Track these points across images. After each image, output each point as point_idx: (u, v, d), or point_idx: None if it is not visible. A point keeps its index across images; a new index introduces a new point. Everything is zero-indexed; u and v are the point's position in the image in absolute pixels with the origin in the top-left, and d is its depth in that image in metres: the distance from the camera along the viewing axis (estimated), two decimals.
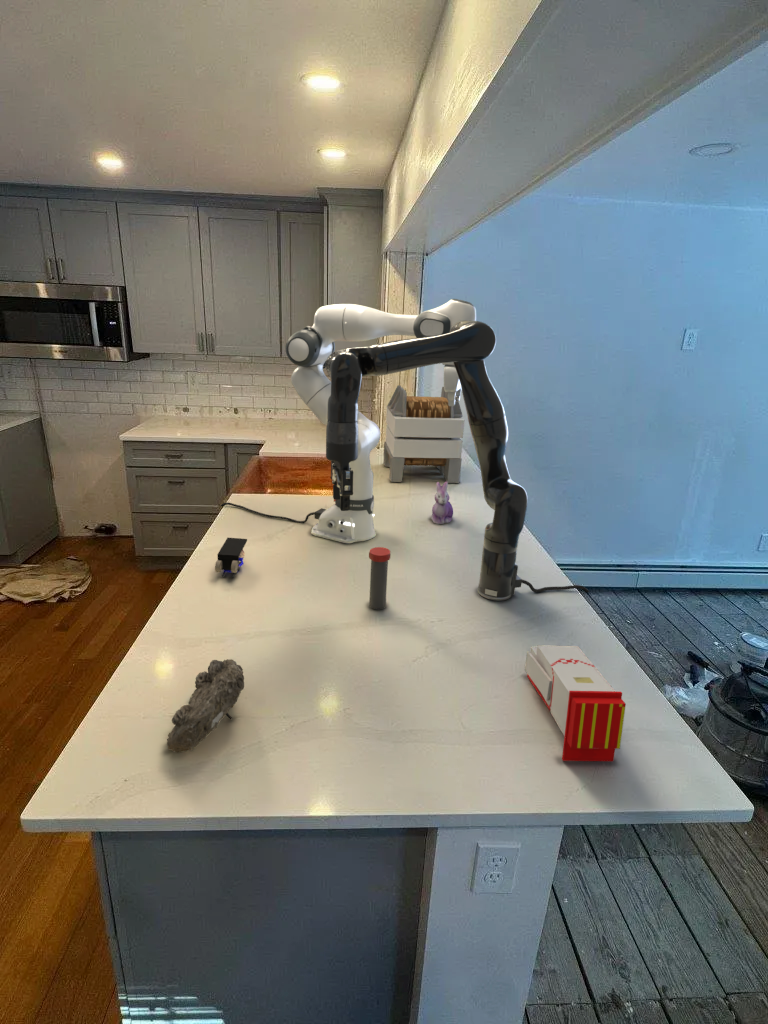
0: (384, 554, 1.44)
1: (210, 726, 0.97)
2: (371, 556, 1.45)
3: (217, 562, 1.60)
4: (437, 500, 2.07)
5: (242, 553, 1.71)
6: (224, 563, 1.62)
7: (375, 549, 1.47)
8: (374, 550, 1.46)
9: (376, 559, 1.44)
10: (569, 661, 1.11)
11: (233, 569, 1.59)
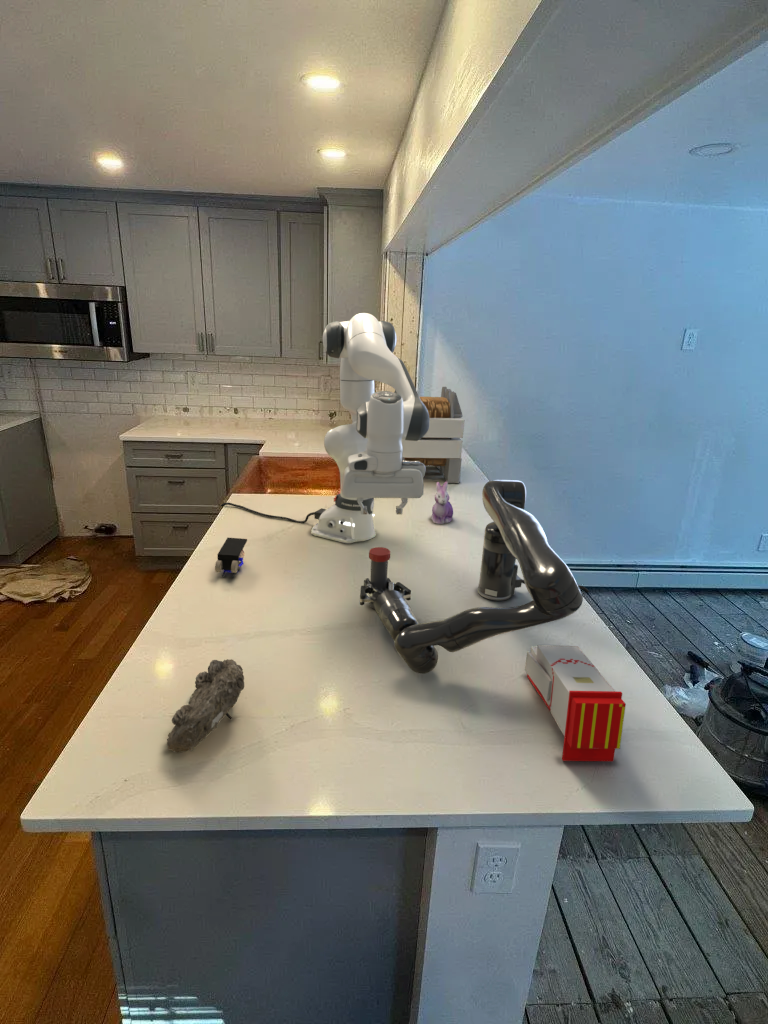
0: (384, 554, 1.44)
1: (210, 726, 0.97)
2: (371, 556, 1.45)
3: (217, 562, 1.60)
4: (437, 500, 2.07)
5: (242, 553, 1.71)
6: (224, 563, 1.62)
7: (375, 549, 1.47)
8: (374, 550, 1.46)
9: (376, 559, 1.44)
10: (569, 661, 1.11)
11: (233, 569, 1.59)
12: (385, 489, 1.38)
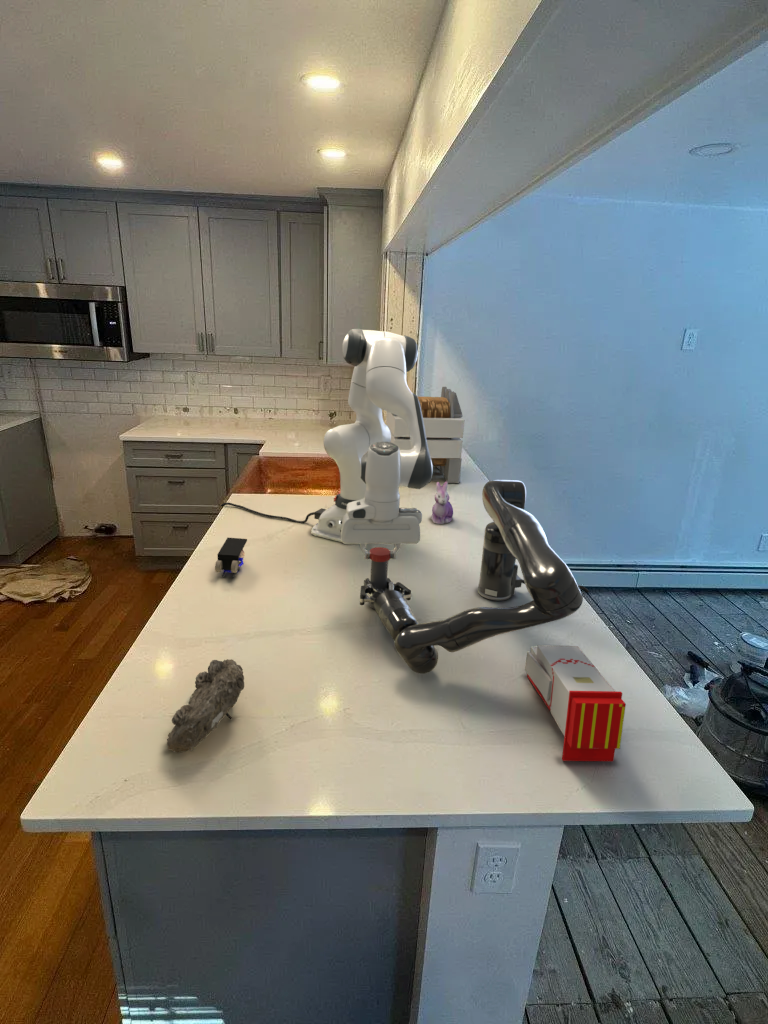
0: (384, 554, 1.44)
1: (210, 726, 0.97)
2: (371, 556, 1.45)
3: (217, 562, 1.60)
4: (437, 500, 2.07)
5: (242, 553, 1.71)
6: (224, 563, 1.62)
7: (375, 549, 1.47)
8: (374, 550, 1.46)
9: (376, 559, 1.44)
10: (569, 661, 1.11)
11: (233, 569, 1.59)
12: (383, 535, 1.43)
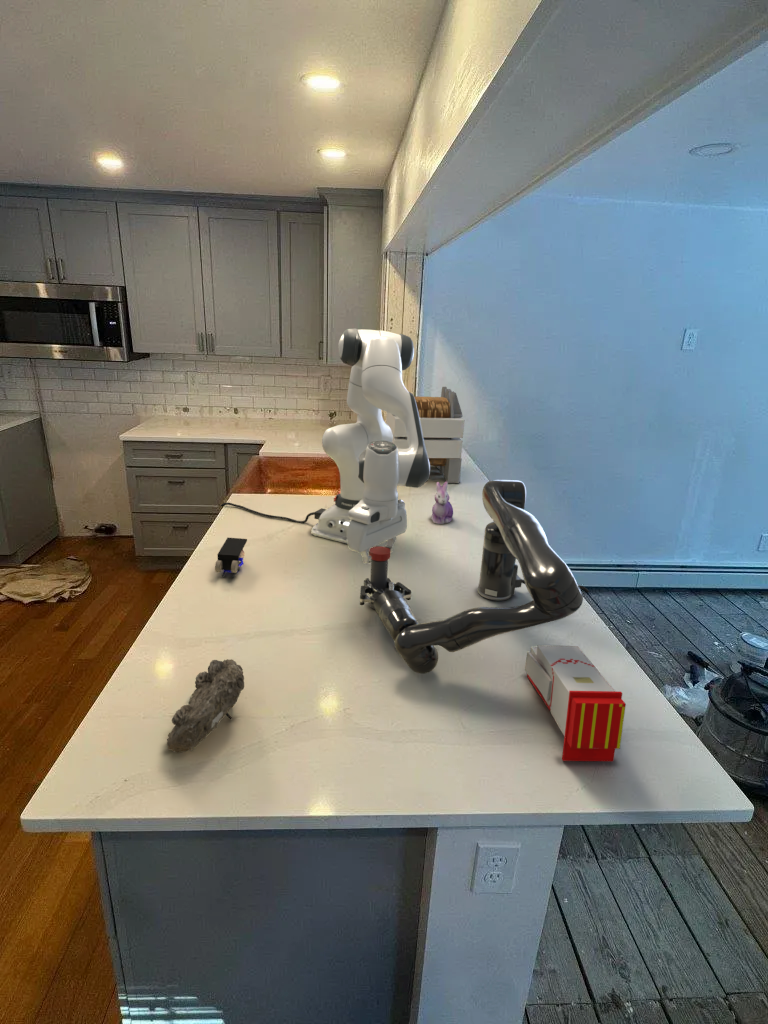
0: (388, 549, 1.46)
1: (210, 726, 0.97)
2: (383, 557, 1.44)
3: (217, 562, 1.60)
4: (437, 500, 2.07)
5: (242, 553, 1.71)
6: (224, 563, 1.62)
7: (375, 551, 1.45)
8: (377, 552, 1.45)
9: (387, 557, 1.45)
10: (569, 661, 1.11)
11: (233, 569, 1.59)
12: (385, 533, 1.43)
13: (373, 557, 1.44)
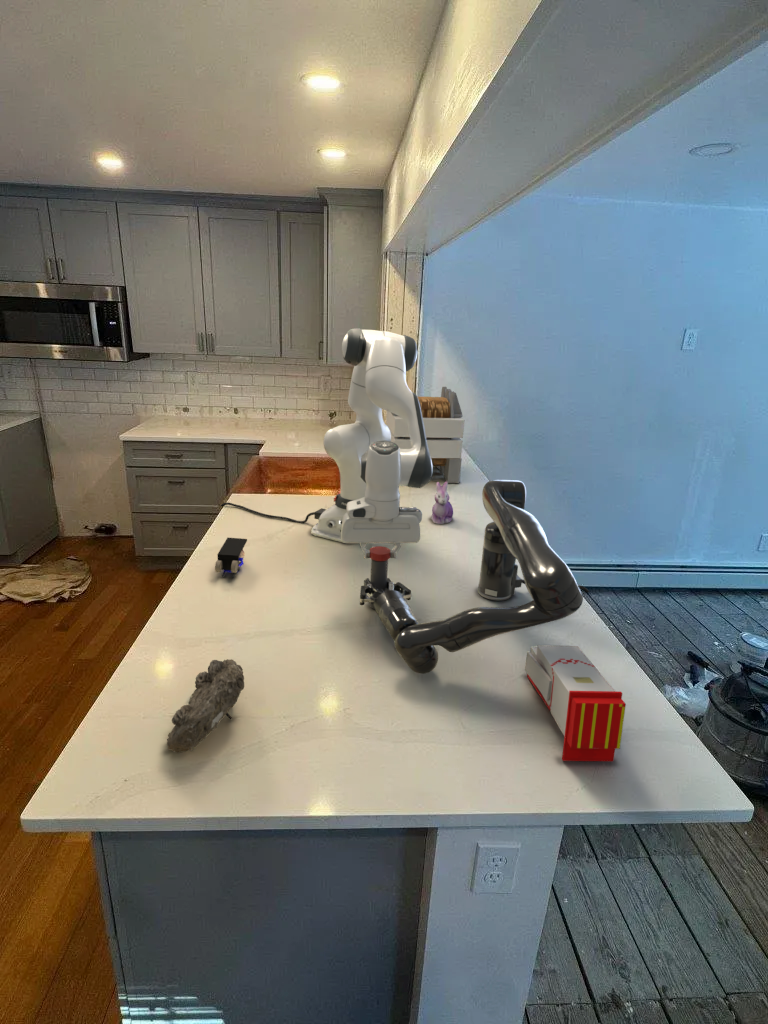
0: (388, 549, 1.46)
1: (210, 726, 0.97)
2: (383, 557, 1.44)
3: (217, 562, 1.60)
4: (437, 500, 2.07)
5: (242, 553, 1.71)
6: (224, 563, 1.62)
7: (375, 551, 1.45)
8: (377, 552, 1.45)
9: (387, 557, 1.45)
10: (569, 661, 1.11)
11: (233, 569, 1.59)
12: (383, 534, 1.42)
13: (373, 557, 1.44)
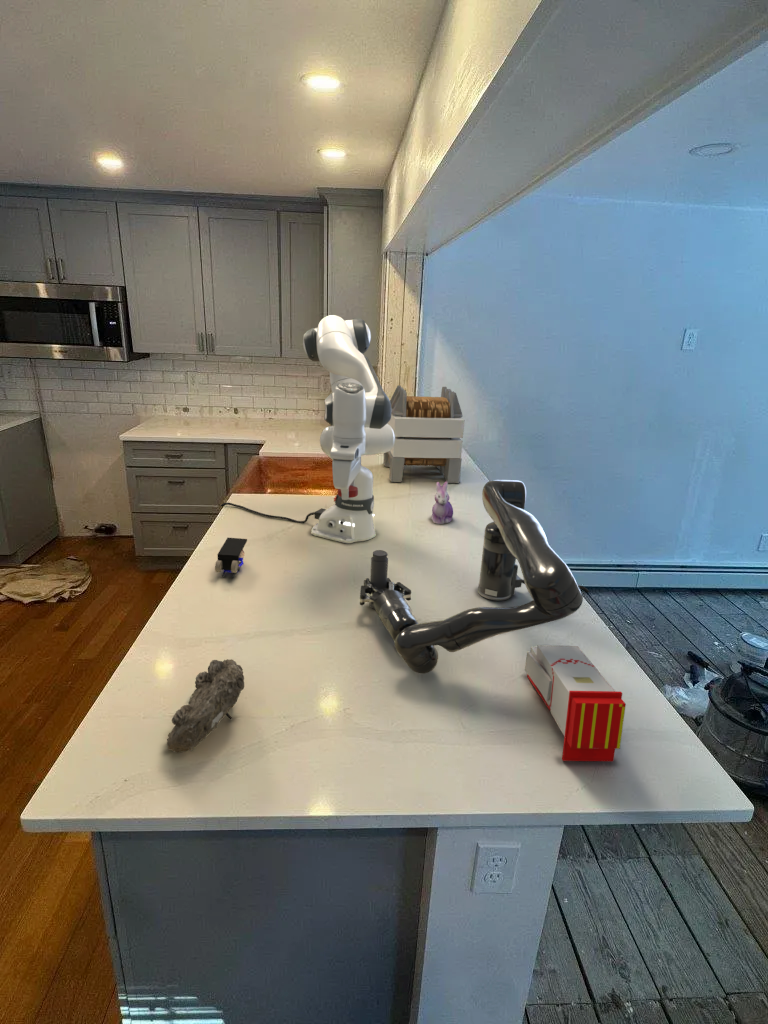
0: None
1: (210, 726, 0.97)
2: (357, 491, 1.55)
3: (217, 562, 1.60)
4: (437, 500, 2.07)
5: (242, 553, 1.71)
6: (224, 563, 1.62)
7: (349, 489, 1.53)
8: (351, 489, 1.54)
9: None
10: (569, 661, 1.11)
11: (233, 569, 1.59)
12: (355, 470, 1.53)
13: (353, 494, 1.53)
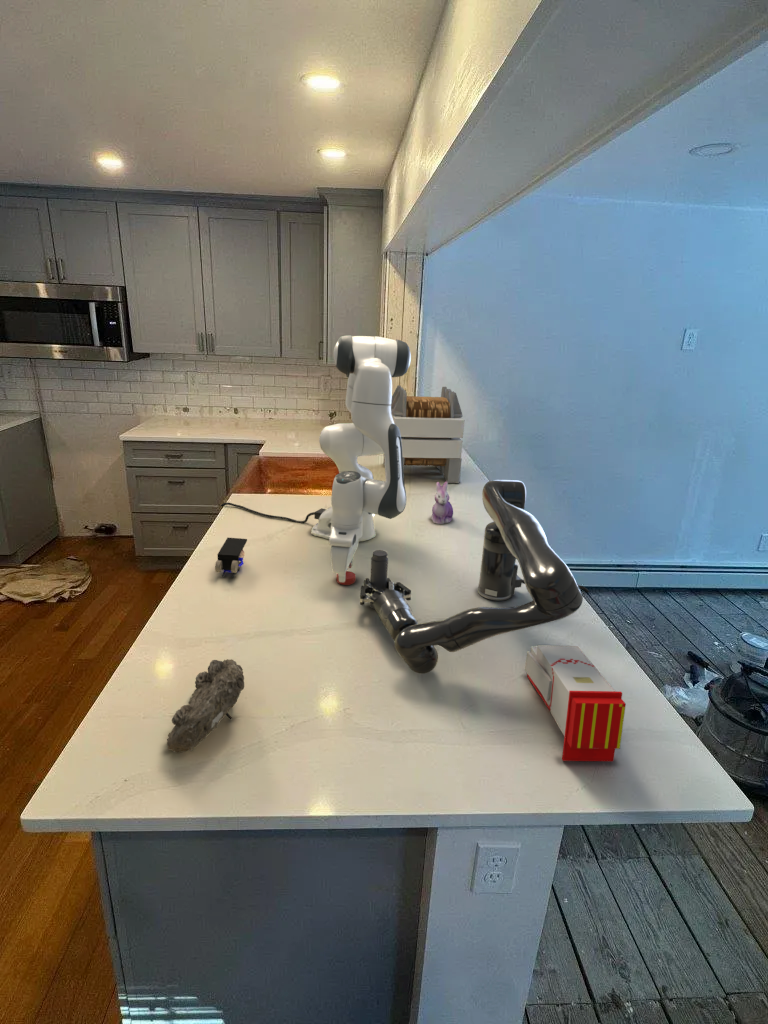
0: (346, 571, 1.66)
1: (210, 726, 0.97)
2: (355, 577, 1.64)
3: (217, 562, 1.60)
4: (437, 500, 2.07)
5: (242, 553, 1.71)
6: (224, 563, 1.62)
7: (347, 577, 1.62)
8: (349, 576, 1.63)
9: None
10: (569, 661, 1.11)
11: (233, 569, 1.59)
12: (352, 551, 1.61)
13: (351, 581, 1.62)
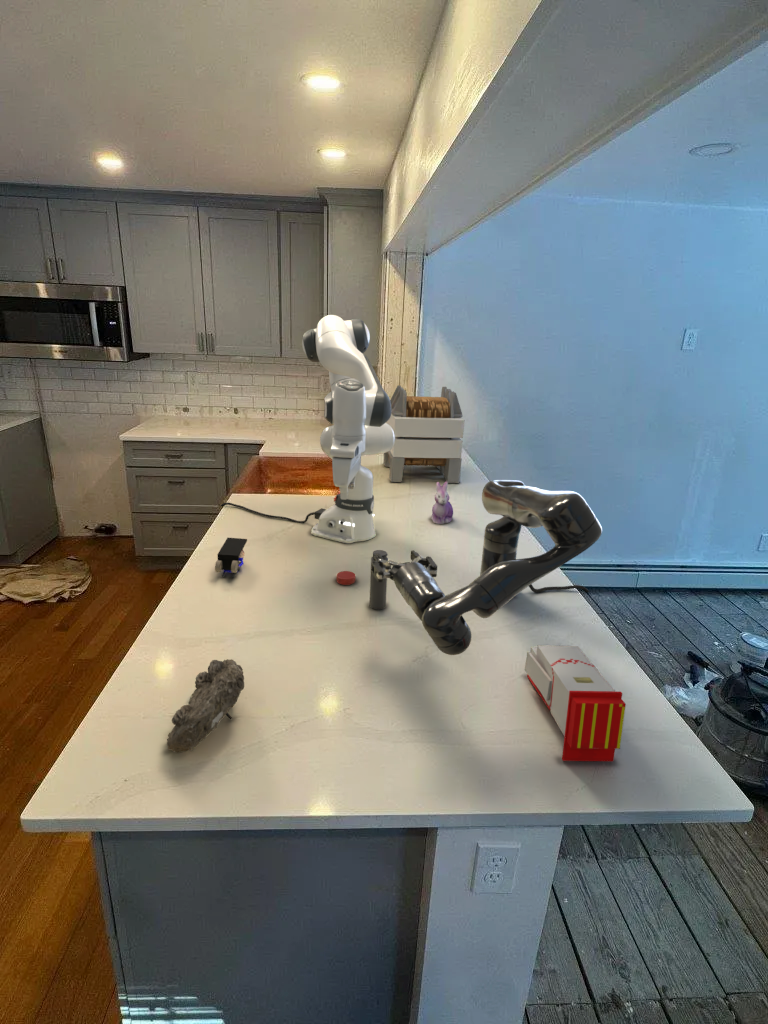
0: (346, 571, 1.66)
1: (210, 726, 0.97)
2: (355, 577, 1.64)
3: (217, 562, 1.60)
4: (437, 500, 2.07)
5: (242, 553, 1.71)
6: (224, 563, 1.62)
7: (347, 577, 1.62)
8: (349, 576, 1.63)
9: None
10: (569, 661, 1.11)
11: (233, 569, 1.59)
12: (355, 468, 1.53)
13: (351, 581, 1.62)
